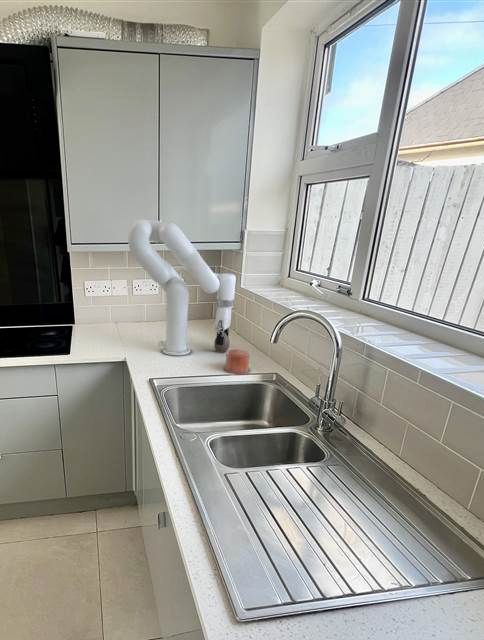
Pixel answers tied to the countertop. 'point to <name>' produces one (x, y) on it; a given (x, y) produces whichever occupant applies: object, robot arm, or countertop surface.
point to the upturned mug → (237, 361)
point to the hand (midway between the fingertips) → (222, 342)
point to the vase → (225, 344)
